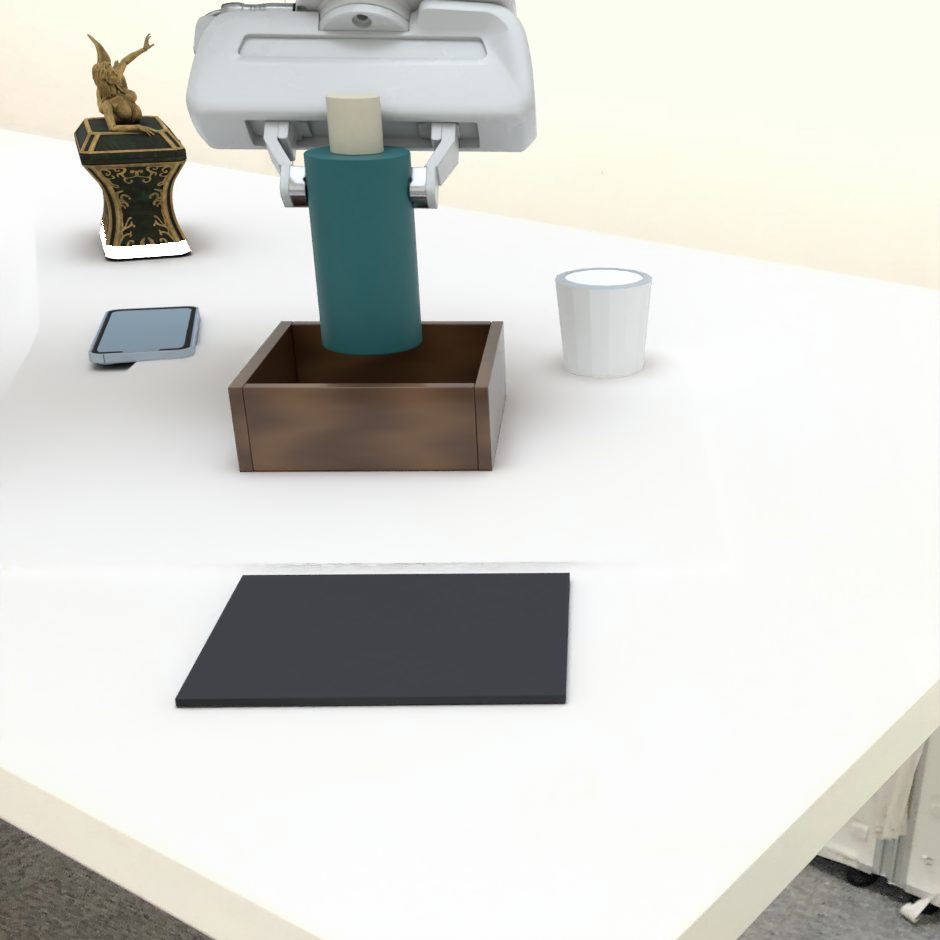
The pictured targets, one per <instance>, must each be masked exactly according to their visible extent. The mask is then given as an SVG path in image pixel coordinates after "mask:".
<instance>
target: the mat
mask: <svg viewBox="0 0 940 940" xmlns="http://www.w3.org/2000/svg"><path fill="white" fill-rule="evenodd" d="M570 587H571V573H570V572H494V573H492V572H484V573H483V572H479V573H478V572H477V573H476V572H475V573H472V572H471V573H469V572H467V573H337V574H336V573H333V574H331V573H330V574H329V573H328V574H322V573H320V574H316V573H315V574H313V573H312V574H242V575H241V577H240V579H239V580H238V583H237V585H236V586H235V588H234V590H233V591H232V593H231V596H230V597H229V599H228V601H227V603H226V604H225V606H224V608H223V610H222V612H221V613H220V616H219V617H218V619H217V620H216V623H215V625H214V627H213V629H212V630H211V632H210V634H209V636H208V638H207V639H206V641H205V643H204V645H203V646H202V649H201V650H200V652H199V654H198V656H197V657H196V660H195V662H194V663H193V665H192V666H191V669H190V671H189V673H188V674H187V676H186V678H185V680H184V682H183V684H182V685H181V687H180V689H179V691H178V693H177V694H176V696H175V698H174V701H175V707H177V708H186V707H187V708H188V707H191V708H192V707H275V706H276V707H280V706H281V707H282V706H283V707H284V706H285V707H287V706H289V707H290V706H293V707H294V706H296V707H297V706H385V705H387V706H388V705H389V706H390V705H397V706H398V704H399V705H470V704H471V705H478V704H479V705H483V704H491V705H493V704H495V705H496V704H497V705H498V704H565V703H566V702H567V677H568V676H567V673H568V650H569V649H568V647H569V645H568V644H569V618H570V617H569V615H570Z"/></svg>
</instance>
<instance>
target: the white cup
mask: <svg viewBox="0 0 940 940" xmlns="http://www.w3.org/2000/svg"><path fill="white" fill-rule="evenodd" d="M652 281H653V276H651V275H650V274H648V273H647V272H643V271H638V270H635V269H629V268H620V267H587V268H577V269H573V270H567V271H563V272H562V273H559V274H557V275H556V277H555V278H554V282H555V292H556V300H557V309H558V310H557V311H558V319H559V327H560V336H561V345H562V353H563V363H564V369H565V370H567V372H568V373H571V374H574V375H577V376H579V377H587V378H595V379H596V378H597V379H598V378H599V379H611V378H612V379H614V378H622V377H623V378H624V377H627V376H632V375H636V374H638V373H639V372H641V371H643V369H644V363H645V353H646V345H647V343H646V342H647V334H648V323H649V312H650V306H651V305H650V304H651V303H650V302H651V296H652V295H651V294H652V283H653V282H652Z"/></svg>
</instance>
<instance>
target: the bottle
mask: <svg viewBox="0 0 940 940" xmlns="http://www.w3.org/2000/svg"><path fill="white" fill-rule="evenodd" d="M325 98H326V109H327V121H328V132H329V143H330V146H326V147H319V148H313V149H310V150H304V151H303V163H304V165H303V166H305V175H306V185H307V195H308V205H309V208H308V214H309V224H310V225H309V226H310V234H311V235H310V236H311V244H312V253H313V264H314V265H313V266H314V274H315V286H316V294H317V295H316V296H317V305H318V314H319V315H318V316H319V317H318V318H319V321H320V327H321V337H322V345H323V346H324V347H325V348H326V349H328V350H330V351H333V352H336V353H341V354H347V355H361V356H372V355H386V354H394V353H399V352H403V351H407V350H410V349H413V348H415V347H417V346H419V345H420V344H421V342H422V327H421V321H422V313H421V297H420V283H419V264H418V249H417V248H418V247H417V233H416V218H415V209H413V207H412V201H411V200H410V193H409V184H410V182H411V179H410V173H411V167H412V156H411V155H412V153H411V151H409V150H407V149H404V148H400V147H394V146H384V145H383V132H382V118H381V105H380V95H378V94H374V93H357V92H351V93H333V94H327V95H326V96H325Z"/></svg>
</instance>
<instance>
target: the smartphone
mask: <svg viewBox="0 0 940 940" xmlns="http://www.w3.org/2000/svg"><path fill="white" fill-rule="evenodd" d="M199 317H200V318H201V314H200V307H198V306H196V305H178V306H177V305H175V306H174V305H173V306H154V307H134V308H133V307H132V308H116V309H110V310H107V311H105V312H104V315H103V317H102V319H101V321H100V324H99V326H98V329H97V331H96V332H95V336H94V338H93V340H92V342H91V344H90V348H89V350H88V351H87V352H88V357H89V361H90V363H94V364H99V365H101V366H112V365H116V364H126V363H127V364H128V363H135V362H146V361H147V362H148V361H149V362H150V361H166V360H179V359H180V360H181V359H187V358H191V357H193V356H194V355H195V350H196V345H197V338H198V332H199V324H200V319H199Z"/></svg>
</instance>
